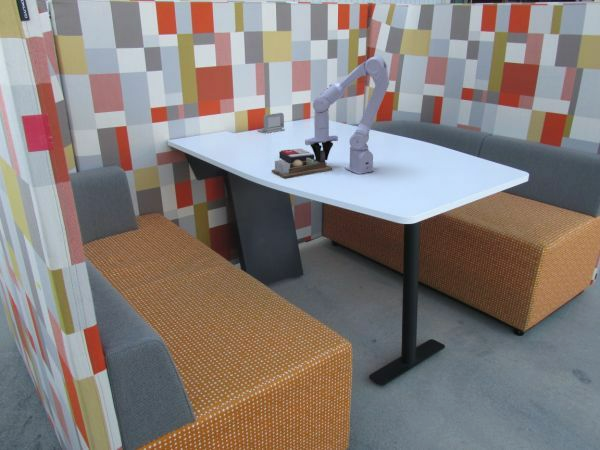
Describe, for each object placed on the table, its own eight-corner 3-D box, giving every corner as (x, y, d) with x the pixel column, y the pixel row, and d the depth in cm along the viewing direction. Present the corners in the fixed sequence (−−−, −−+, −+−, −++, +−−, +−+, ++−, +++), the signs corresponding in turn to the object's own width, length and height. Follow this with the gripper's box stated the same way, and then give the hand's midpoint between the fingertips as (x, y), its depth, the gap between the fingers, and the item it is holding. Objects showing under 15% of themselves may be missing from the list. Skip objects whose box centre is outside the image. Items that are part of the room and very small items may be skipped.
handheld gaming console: (275, 128, 288) (274, 110, 285) (284, 130, 282) (284, 112, 278) (256, 131, 281) (255, 113, 277) (265, 134, 274) (264, 115, 271)
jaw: (327, 165, 207) (327, 151, 204) (312, 168, 203) (311, 154, 201) (321, 163, 210) (321, 149, 208) (306, 165, 207) (306, 152, 204)
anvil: (290, 173, 197) (289, 163, 196) (283, 174, 196) (283, 164, 194) (281, 169, 203) (281, 160, 201) (275, 170, 201) (274, 161, 200)
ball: (304, 170, 202) (304, 160, 200) (296, 171, 200) (295, 161, 198) (299, 167, 205) (299, 158, 204) (291, 169, 203) (290, 159, 202)
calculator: (301, 147, 228) (314, 153, 215) (302, 157, 230) (314, 163, 216) (278, 150, 225) (290, 155, 211) (279, 159, 226) (290, 165, 213)
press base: (332, 170, 204) (332, 163, 203) (284, 178, 194) (284, 171, 193) (317, 164, 213) (317, 157, 212) (271, 172, 203) (271, 165, 202)
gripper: (331, 123, 208) (331, 155, 213) (300, 127, 202) (301, 160, 207) (340, 126, 203) (340, 159, 208) (310, 130, 196) (310, 164, 201)
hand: (321, 160), depth 207 cm, fingers closed on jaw, 3 cm apart
